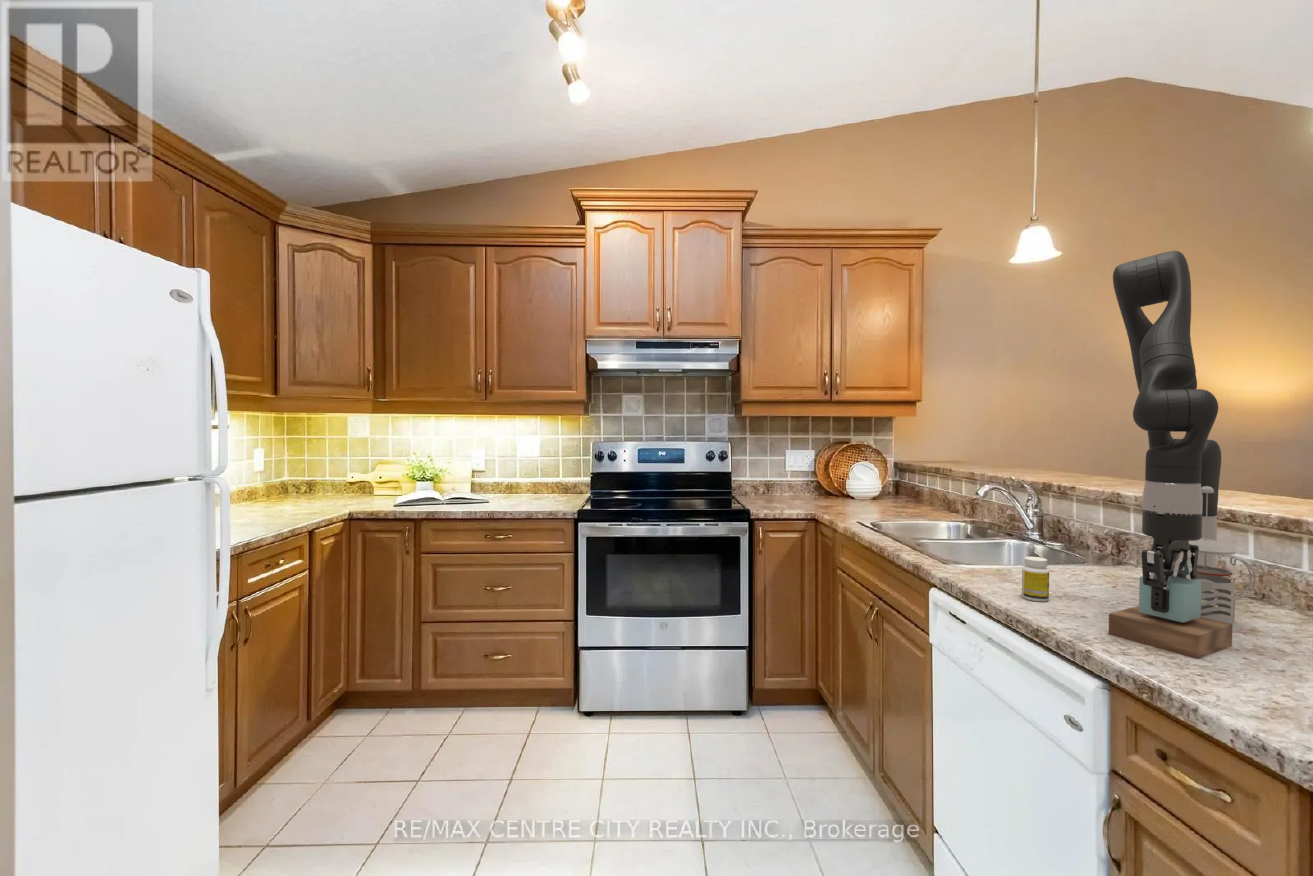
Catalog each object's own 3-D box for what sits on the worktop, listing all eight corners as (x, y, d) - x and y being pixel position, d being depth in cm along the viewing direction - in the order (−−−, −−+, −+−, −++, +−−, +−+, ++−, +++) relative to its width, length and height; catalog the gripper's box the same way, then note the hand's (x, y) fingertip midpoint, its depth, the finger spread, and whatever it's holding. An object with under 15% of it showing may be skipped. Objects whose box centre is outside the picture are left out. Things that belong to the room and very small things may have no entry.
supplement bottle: (1053, 603, 118) (1053, 561, 118) (1027, 601, 119) (1028, 560, 119) (1042, 596, 123) (1043, 556, 123) (1017, 594, 124) (1018, 555, 124)
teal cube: (1156, 607, 102) (1157, 573, 102) (1200, 617, 97) (1201, 581, 97) (1138, 612, 99) (1139, 577, 99) (1183, 622, 94) (1184, 585, 94)
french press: (1160, 610, 114) (1163, 482, 114) (1240, 619, 109) (1243, 485, 108) (1178, 625, 105) (1182, 487, 105) (1266, 636, 100) (1270, 490, 100)
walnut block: (1143, 626, 106) (1144, 604, 106) (1231, 648, 96) (1232, 624, 95) (1108, 636, 101) (1109, 613, 101) (1197, 661, 90) (1198, 636, 90)
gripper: (1165, 503, 104) (1162, 597, 105) (1123, 508, 98) (1120, 608, 98) (1220, 509, 98) (1217, 609, 98) (1179, 514, 91) (1176, 622, 91)
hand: (1169, 608), depth 98 cm, fingers closed on teal cube, 6 cm apart
